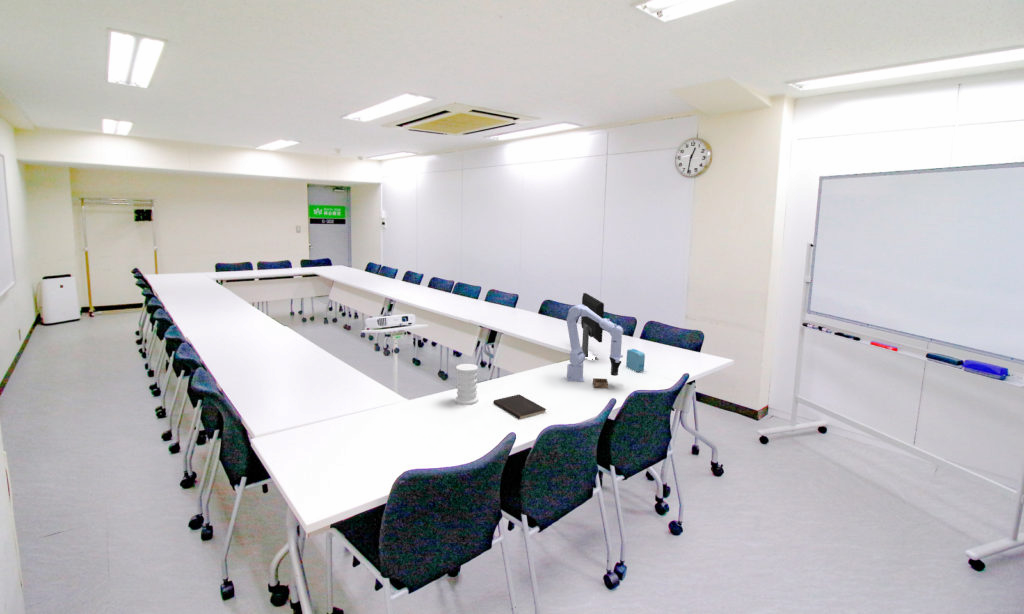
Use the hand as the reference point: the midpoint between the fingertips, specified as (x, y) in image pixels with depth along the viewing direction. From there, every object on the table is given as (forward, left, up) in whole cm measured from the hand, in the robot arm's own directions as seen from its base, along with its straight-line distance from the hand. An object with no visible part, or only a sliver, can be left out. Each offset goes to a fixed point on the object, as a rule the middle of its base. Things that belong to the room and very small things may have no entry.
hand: (614, 371), depth 274 cm
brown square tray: (-7, 0, -9) cm, 12 cm away
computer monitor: (-8, +60, -9) cm, 61 cm away
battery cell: (0, 0, -2) cm, 2 cm away
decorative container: (-79, -29, -9) cm, 85 cm away
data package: (+18, +32, -9) cm, 38 cm away
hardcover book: (-52, -36, -10) cm, 64 cm away
